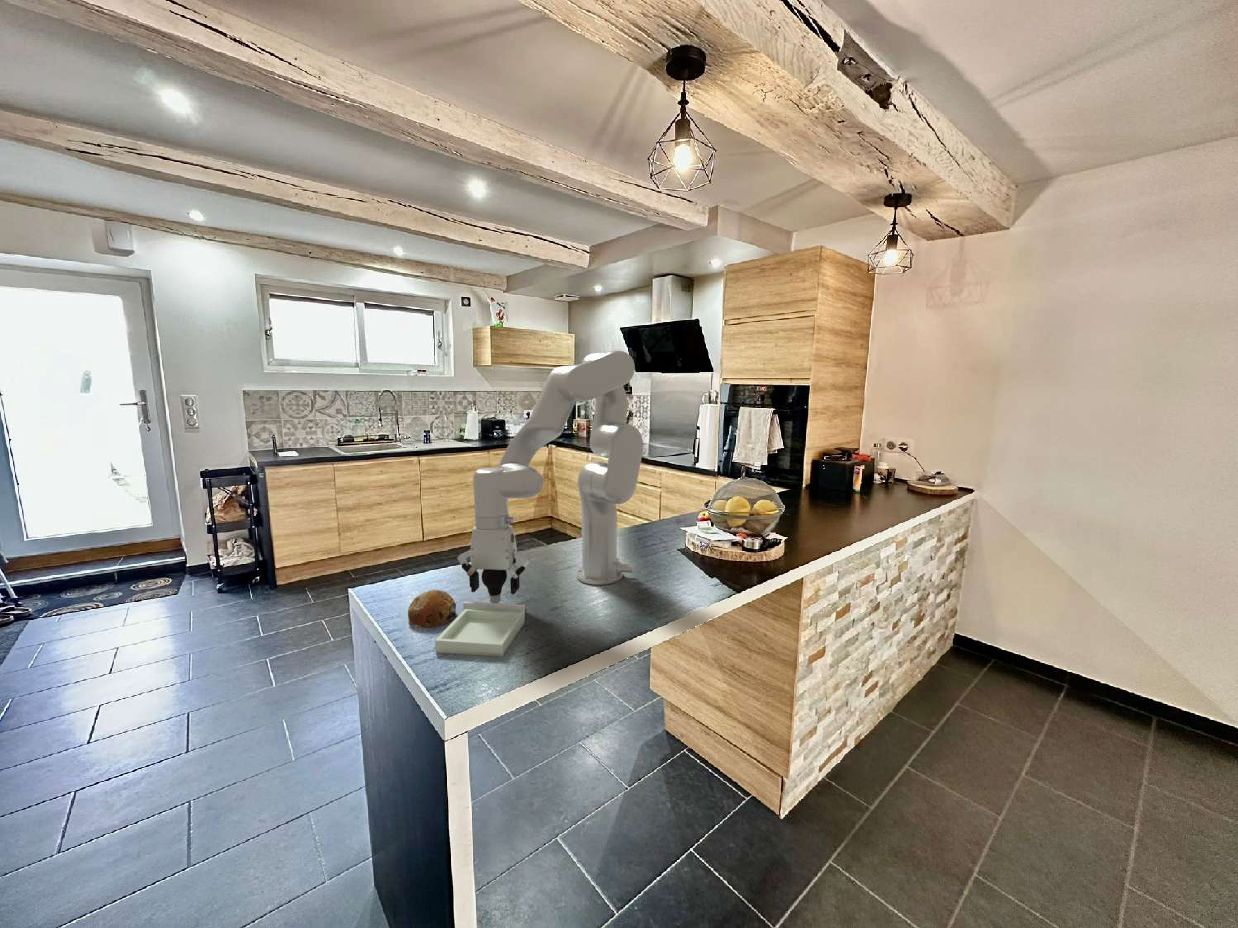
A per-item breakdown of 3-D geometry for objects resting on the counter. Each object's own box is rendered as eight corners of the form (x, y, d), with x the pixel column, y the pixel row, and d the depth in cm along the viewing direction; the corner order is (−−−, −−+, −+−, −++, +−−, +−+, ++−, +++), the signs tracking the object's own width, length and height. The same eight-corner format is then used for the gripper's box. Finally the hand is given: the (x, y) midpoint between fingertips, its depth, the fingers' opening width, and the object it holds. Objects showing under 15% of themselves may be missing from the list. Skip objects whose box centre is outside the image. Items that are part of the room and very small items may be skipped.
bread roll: (447, 620, 115) (437, 587, 116) (468, 614, 109) (458, 580, 110) (406, 636, 108) (396, 601, 109) (427, 631, 101) (416, 594, 102)
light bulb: (488, 611, 111) (486, 570, 110) (479, 602, 116) (477, 563, 115) (512, 605, 115) (510, 565, 113) (502, 596, 120) (500, 558, 118)
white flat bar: (524, 617, 109) (524, 604, 108) (523, 618, 108) (523, 606, 108) (465, 613, 111) (464, 601, 110) (463, 615, 110) (463, 602, 109)
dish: (524, 622, 106) (524, 612, 106) (502, 656, 93) (502, 644, 93) (465, 619, 108) (465, 608, 108) (435, 652, 95) (434, 640, 94)
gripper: (532, 518, 115) (534, 586, 118) (463, 515, 117) (466, 582, 120) (523, 527, 108) (525, 599, 110) (449, 524, 110) (453, 595, 112)
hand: (494, 590), depth 115 cm, fingers open, 9 cm apart
